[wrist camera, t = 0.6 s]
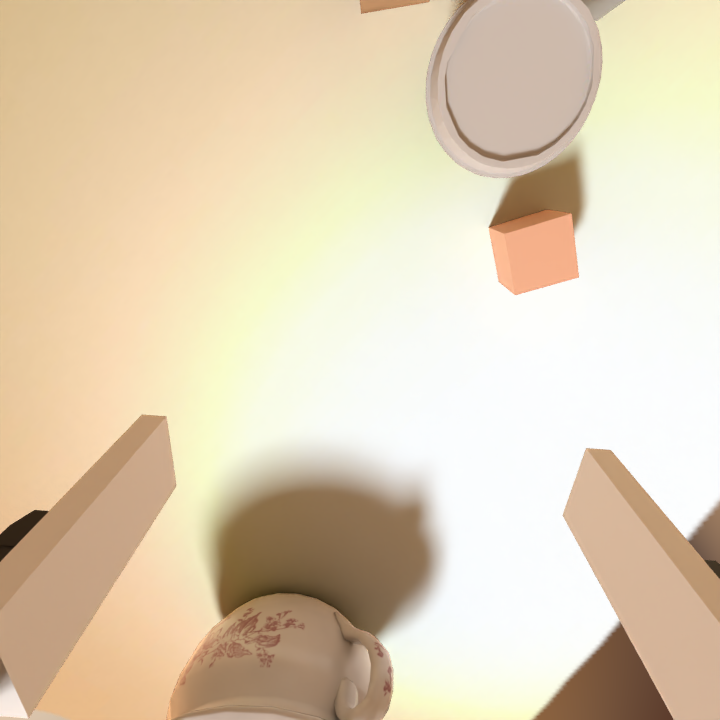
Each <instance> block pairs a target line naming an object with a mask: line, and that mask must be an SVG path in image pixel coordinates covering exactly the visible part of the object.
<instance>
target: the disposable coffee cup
mask: <svg viewBox="0 0 720 720" xmlns="http://www.w3.org/2000/svg"><path fill="white" fill-rule="evenodd" d="M601 70H602V46H601V41H600V36H599V30H598V28H597V25H596V23H595V21H594V19H593V17H592V15H591V12H590V10H589V8H588V7H587V6H586V5H585V4H584V3H583V2H582V1H581V0H467V1H466V2H465V3H464V4H463V5H462V6H461V7H459V8H458V10H457V11H456V12H455V14H454V15H453V16H452V17H451V19H450V20H449V21H448V22H447V24H446V26H445V28H444V29H443V31H442V33H441V34H440V36H439V38H438V40H437V43H436V45H435V48H434V50H433V53H432V55H431V59H430V63H429V67H428V73H427V79H426V104H427V110H428V116H429V121H430V123H431V126H432V129H433V132H434V134H435V137H436V139H437V141H438V142H439V144H440V145H441V146H442V148H443V149H444V151H445V152H446V153H447V155H449V156H450V157H451V158H452V159H453V160H454V161H455V162H456V163H457V164H458V165H460V166H461V167H463V168H465V169H466V170H468V171H471V172H473V173H475V174H478V175H480V176H486V177H492V178H510V177H515V176H521V175H524V174H527V173H529V172H532V171H534V170H536V169H538V168H540V167H542V166H544V165H546V164H547V163H548V162H550V161H551V160H553V159H554V158H555V157H557V156H558V155H559V154H560V153H561V152H562V151H563V150H564V149H565V148H566V147H567V146H568V145H569V144H570V143H571V142H572V141H573V139H574V138H575V136H576V135H577V133H578V132H579V131H580V129H581V128H582V126H583V124H584V122H585V120H586V119H587V117H588V115H589V113H590V110H591V107H592V105H593V103H594V101H595V97H596V94H597V90H598V86H599V83H600V79H601Z"/></svg>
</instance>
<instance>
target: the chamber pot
mask: <svg viewBox="0 0 720 720" xmlns="http://www.w3.org/2000/svg"><path fill="white" fill-rule="evenodd" d="M367 650H368V651H367ZM392 693H393V667H392V663H391V659H390V655H389V653H388V651H387V650H386V649H385V647H384V646H383V645H382V644H381V642H380V641H379V640H378V639H377V638H376V637H375V636H374V635H372V634H371V633H369V632H366V631H363V630H361V629H358V628H355V627H354V626H353V625H352V623H351V622H350V621H349V620H348V619H347V618H346V617H345V616H344V615H342V614H341V613H340V612H339V611H338V610H337V609H336V608H334V607H332V606H331V605H329V604H327V603H325V602H323V601H321V600H319V599H317V598H313V597H309V596H305V595H301V594H288V593H276V594H271V595H266V596H261V597H257V598H255V599H253V600H251V601H249V602H247V603H245V604H243V605H241V606H239V607H237V608H236V609H235V610H234V611H232V612H231V613H230V614H229V615H227V616H226V617H225V618H224V619H223V620H221V621H220V622H219V623H218V624H217V625H215V626H214V627H213V628H212V629H211V630H210V631H209V633H208V634H207V635H206V636H205V637H204V638H203V639H202V640H201V642H200V643H199V644H198V646H197V648H196V649H195V651H194V652H193V654H192V656H191V657H190V659H189V661H188V662H187V664H186V666H185V667H184V669H183V670H182V672H181V674H180V676H179V679H178V681H177V684H176V686H175V689H174V691H173V694H172V696H171V699H170V703H169V708H168V712H167V717H166V720H382V719H383V718H384V716H385V714H386V713H387V711H388V710H389V705H390V701H391V697H392Z"/></svg>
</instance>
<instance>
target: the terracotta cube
mask: <svg viewBox="0 0 720 720" xmlns="http://www.w3.org/2000/svg"><path fill="white" fill-rule="evenodd" d="M489 232H490V238H491V243H492V248H493V254H494V259H495V264H496V270H497V275H498V280H499V282H500V283H501V284H502V285H503V286H505V287H506V288H507V289H508V290H509V291H511V292H512V293H513V294H514V295H518V294H521V293H525V292H528V291H532V290H535V289H539V288H543V287H546V286H550V285H553V284H557V283H560V282H564V281H567V280H571V279H574V278H578V277H579V274H578V265H577V256H576V247H575V238H574V230H573V221H572V213H566V212H560V211H553V210H543V211H540V212H537V213H534V214H531V215H527V216H524V217H521V218H518V219H514V220H511V221H508V222H505V223H501V224H498V225H495V226H492V227H489Z"/></svg>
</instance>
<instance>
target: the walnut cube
mask: <svg viewBox="0 0 720 720" xmlns="http://www.w3.org/2000/svg"><path fill="white" fill-rule="evenodd" d="M429 1H430V0H360V5H361V14H362V13H368V12H374V11H380V10H385V9H391V8H397V7H403V6H409V5H414V4H420V3H426V2H429Z"/></svg>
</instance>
